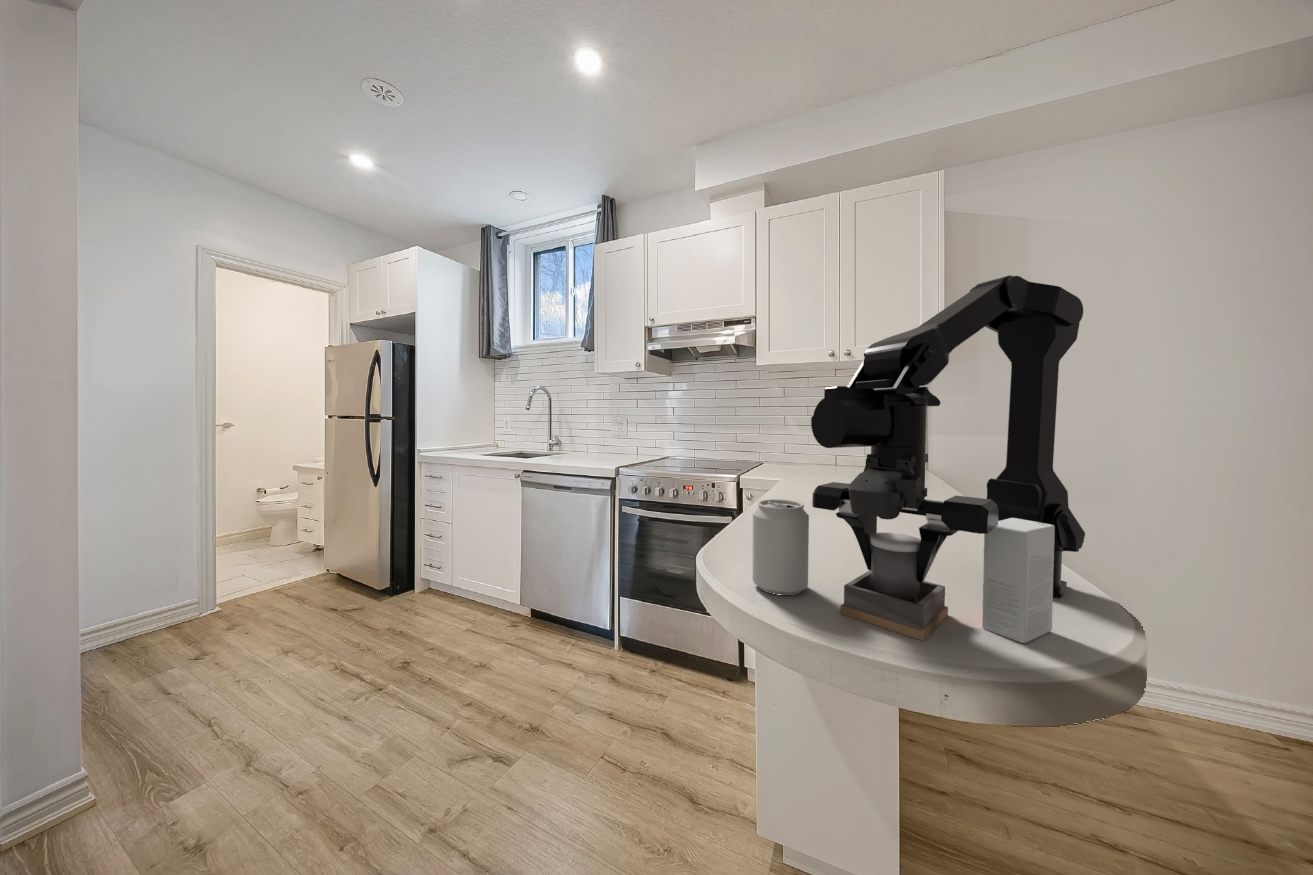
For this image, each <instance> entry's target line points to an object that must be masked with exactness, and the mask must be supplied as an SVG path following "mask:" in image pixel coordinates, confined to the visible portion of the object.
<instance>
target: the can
mask: <svg viewBox="0 0 1313 875" xmlns="http://www.w3.org/2000/svg"><path fill="white" fill-rule="evenodd" d="M757 506H758V507H757V508H756V509H755V510H754V511H753V513H752V576H751V577H752V581H753V583H754V584H755V585H756V586H757V587H758V588H759V587H760V588H761V589H762V590H765V591H767V592H770V593H775V594H781V595H791V596H796V595H799V594H800V593H801V591H802V592H803V591H804V590H805V589H807V587H809V550H810V549H809V544H810V543H809V541H810V538H809V536H810V534H809V532H810V515H809V514H808V513H807V512H806V510H805V509H804V508H805V504H804V503H802V502H800V501H797V500H790V499H778V498H777V499H776V498H775V499H763V500H760V501H758V502H757ZM760 588H759V589H760ZM761 589H760V590H761ZM762 590H761V591H762ZM798 593H799V594H798ZM795 594H796V595H795Z"/></svg>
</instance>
